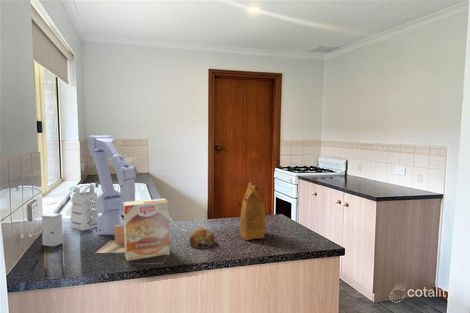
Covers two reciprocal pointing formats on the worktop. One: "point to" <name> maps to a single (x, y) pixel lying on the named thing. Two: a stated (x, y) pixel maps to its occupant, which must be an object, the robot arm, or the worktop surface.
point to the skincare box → (52, 229)
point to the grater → (84, 209)
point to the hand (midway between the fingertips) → (129, 228)
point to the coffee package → (252, 215)
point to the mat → (112, 248)
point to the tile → (119, 234)
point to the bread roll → (202, 238)
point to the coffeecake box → (146, 228)
